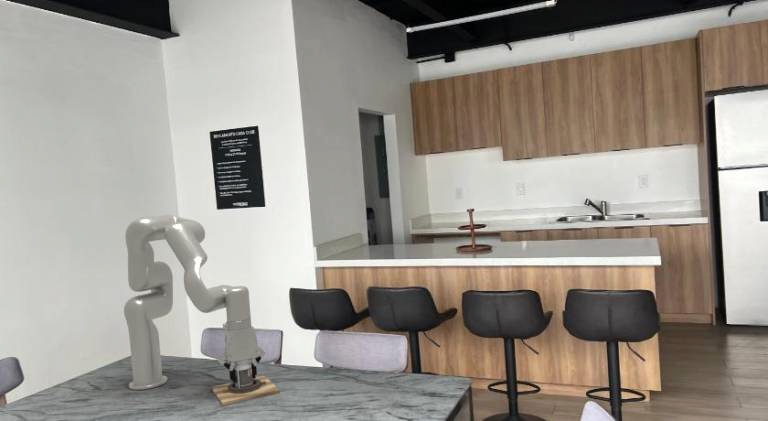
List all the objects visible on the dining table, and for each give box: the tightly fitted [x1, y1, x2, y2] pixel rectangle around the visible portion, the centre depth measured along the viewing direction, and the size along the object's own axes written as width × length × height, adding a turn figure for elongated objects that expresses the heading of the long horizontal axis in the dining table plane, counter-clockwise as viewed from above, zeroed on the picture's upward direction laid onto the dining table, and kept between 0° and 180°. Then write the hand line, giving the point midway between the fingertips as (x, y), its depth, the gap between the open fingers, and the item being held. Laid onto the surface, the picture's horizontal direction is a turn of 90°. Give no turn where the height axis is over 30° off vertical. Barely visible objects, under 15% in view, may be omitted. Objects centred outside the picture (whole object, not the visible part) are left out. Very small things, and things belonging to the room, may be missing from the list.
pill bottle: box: [234, 359, 253, 388], centre depth 187 cm, size 6×6×10 cm
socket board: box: [211, 375, 281, 407], centre depth 187 cm, size 18×18×2 cm
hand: (243, 379), depth 187 cm, fingers closed on pill bottle, 5 cm apart
